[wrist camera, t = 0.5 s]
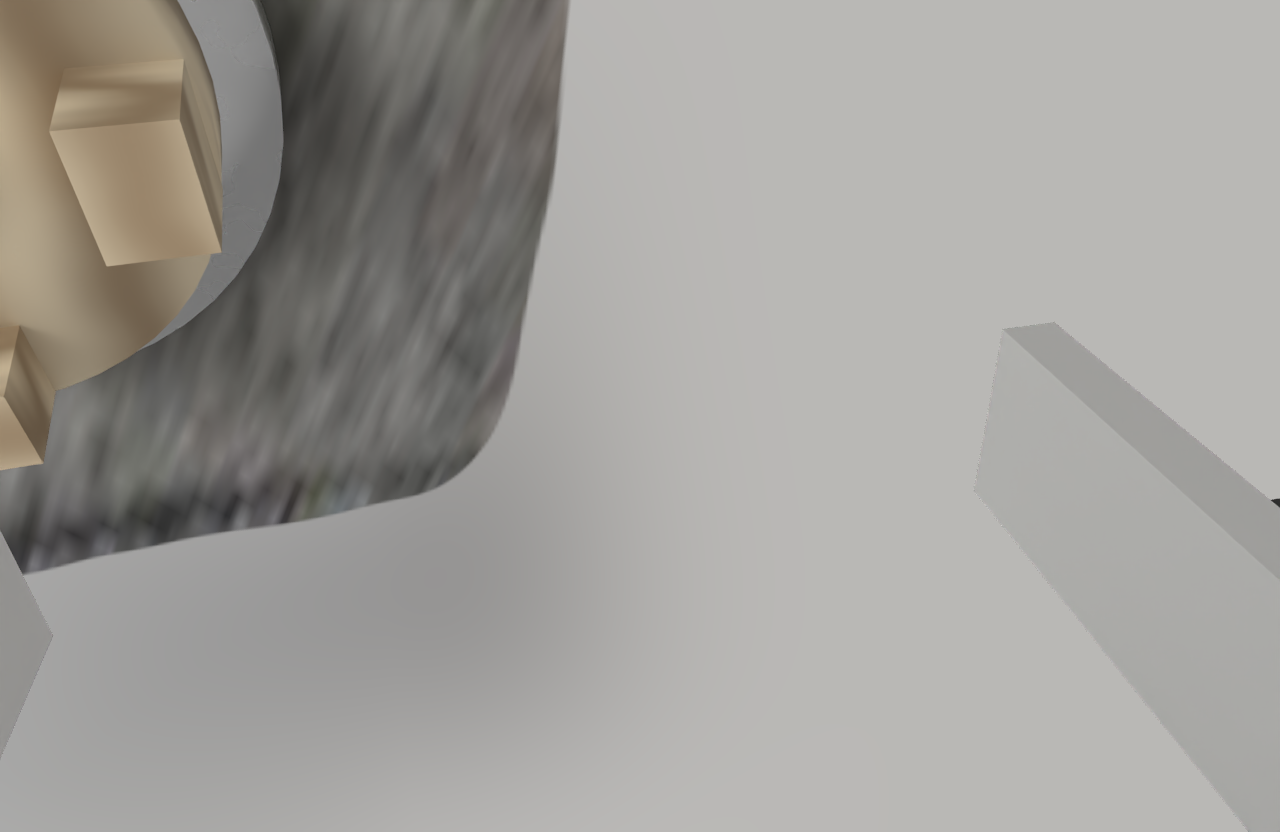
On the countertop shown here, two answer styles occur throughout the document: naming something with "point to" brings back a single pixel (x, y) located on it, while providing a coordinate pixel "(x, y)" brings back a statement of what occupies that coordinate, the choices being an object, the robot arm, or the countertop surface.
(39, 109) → the ring nut
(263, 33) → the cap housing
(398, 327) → the countertop surface
